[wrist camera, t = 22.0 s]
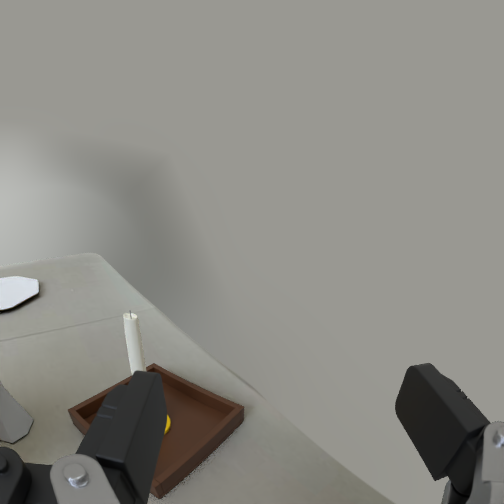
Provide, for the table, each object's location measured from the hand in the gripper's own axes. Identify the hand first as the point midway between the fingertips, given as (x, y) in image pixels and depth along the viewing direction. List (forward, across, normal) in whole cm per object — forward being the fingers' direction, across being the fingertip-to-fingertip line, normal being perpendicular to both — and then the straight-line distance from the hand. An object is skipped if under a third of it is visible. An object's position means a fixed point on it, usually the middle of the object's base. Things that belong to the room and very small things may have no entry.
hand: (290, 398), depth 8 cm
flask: (+11, +31, +22) cm, 40 cm away
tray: (+18, +12, +22) cm, 31 cm away
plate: (+49, +68, +22) cm, 87 cm away
